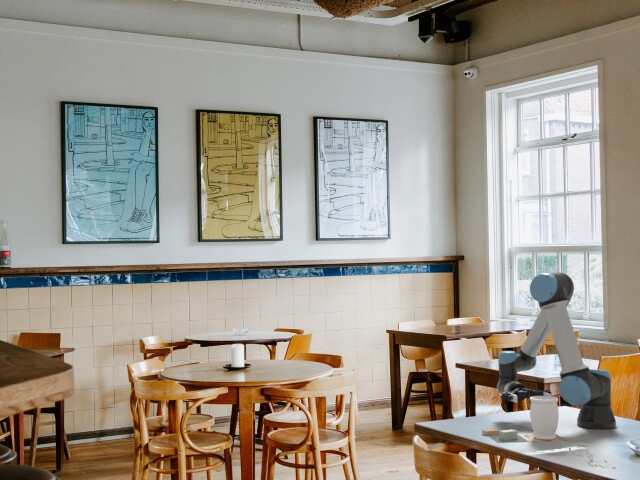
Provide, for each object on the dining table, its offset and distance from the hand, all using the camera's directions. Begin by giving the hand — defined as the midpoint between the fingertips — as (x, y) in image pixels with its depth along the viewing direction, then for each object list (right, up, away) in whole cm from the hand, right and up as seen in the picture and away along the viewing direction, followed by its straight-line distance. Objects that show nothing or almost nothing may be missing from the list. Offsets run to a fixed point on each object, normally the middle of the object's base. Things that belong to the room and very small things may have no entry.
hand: (533, 398), depth 318 cm
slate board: (-13, -14, -13) cm, 23 cm away
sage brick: (-13, -13, -12) cm, 22 cm away
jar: (+1, -13, -11) cm, 17 cm away
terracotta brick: (-17, -14, -4) cm, 23 cm away
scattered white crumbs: (+9, -13, -41) cm, 44 cm away
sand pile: (+1, -14, -11) cm, 18 cm away
